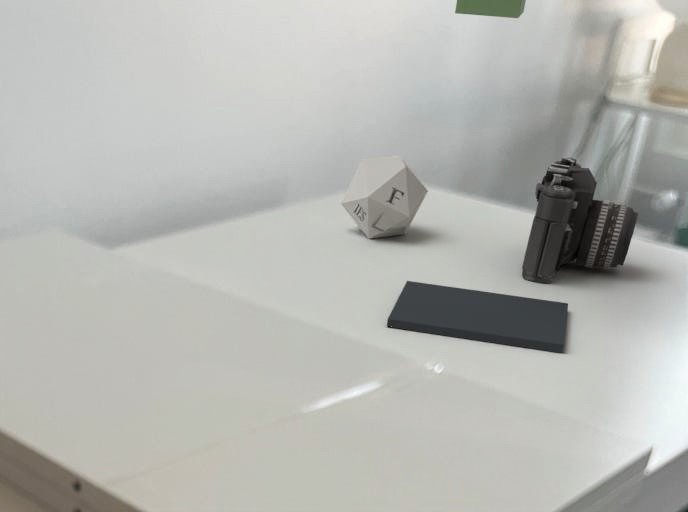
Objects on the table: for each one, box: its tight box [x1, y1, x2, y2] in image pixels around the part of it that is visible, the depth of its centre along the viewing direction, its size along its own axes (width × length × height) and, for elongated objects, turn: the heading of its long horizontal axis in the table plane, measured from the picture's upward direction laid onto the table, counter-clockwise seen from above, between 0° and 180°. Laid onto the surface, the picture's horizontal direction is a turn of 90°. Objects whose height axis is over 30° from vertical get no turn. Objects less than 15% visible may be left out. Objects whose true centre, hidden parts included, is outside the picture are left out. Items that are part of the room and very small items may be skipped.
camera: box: [521, 157, 639, 284], centre depth 111 cm, size 14×11×10 cm
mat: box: [386, 280, 569, 354], centre depth 99 cm, size 16×12×1 cm
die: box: [340, 155, 429, 240], centre depth 119 cm, size 8×9×10 cm
